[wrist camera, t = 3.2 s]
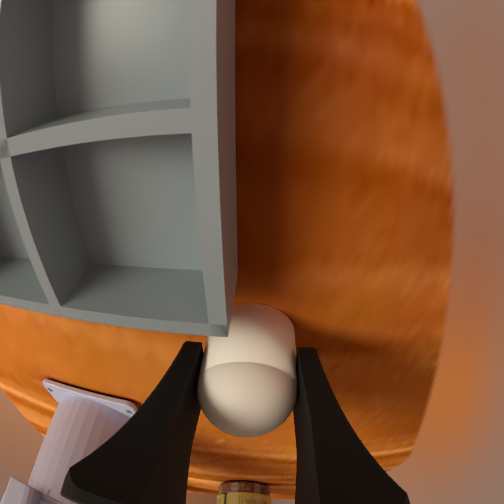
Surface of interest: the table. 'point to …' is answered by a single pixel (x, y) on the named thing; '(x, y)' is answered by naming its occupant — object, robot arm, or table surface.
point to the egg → (250, 372)
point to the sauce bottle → (243, 493)
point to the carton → (119, 162)
